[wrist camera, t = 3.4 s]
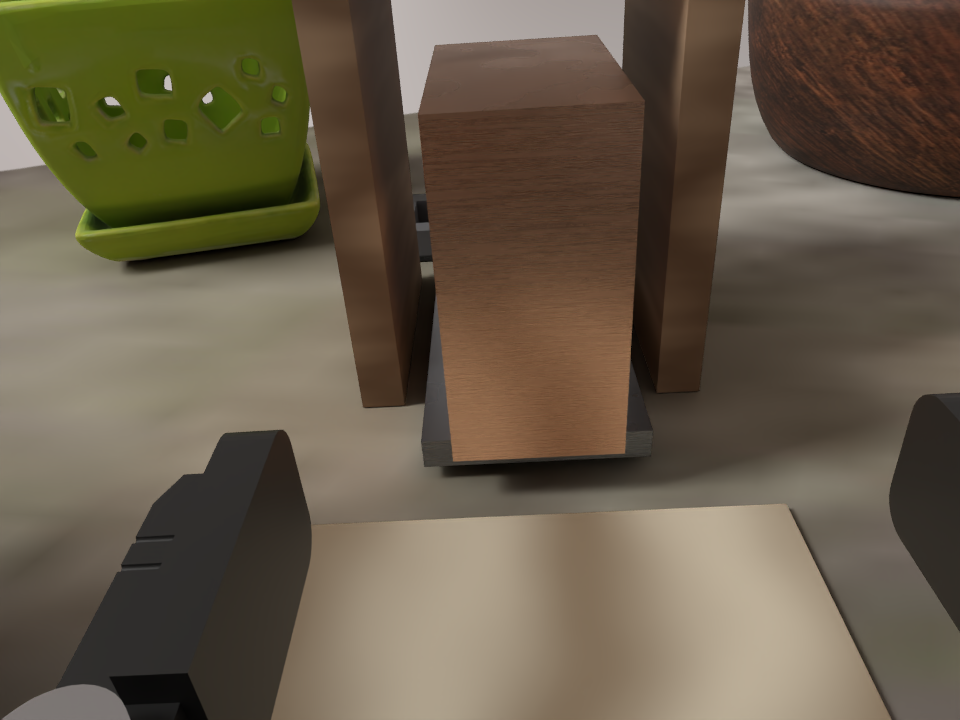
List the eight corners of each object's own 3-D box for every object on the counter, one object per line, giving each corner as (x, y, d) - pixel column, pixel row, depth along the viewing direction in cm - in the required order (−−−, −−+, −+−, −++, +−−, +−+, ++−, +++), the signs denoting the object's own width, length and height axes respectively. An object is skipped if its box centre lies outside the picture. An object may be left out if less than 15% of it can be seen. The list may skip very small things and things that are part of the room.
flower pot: (349, 250, 39) (304, -24, 32) (60, 296, 37) (-55, 9, 30) (326, 167, 51) (289, -48, 44) (106, 198, 48) (29, -25, 41)
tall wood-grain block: (422, 488, 23) (373, 117, 17) (442, 268, 35) (417, 11, 29) (657, 478, 23) (691, 98, 17) (593, 260, 35) (599, 0, 29)
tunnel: (363, 407, 27) (274, -93, 19) (390, 281, 36) (337, -105, 27) (699, 390, 27) (760, -127, 19) (646, 267, 35) (672, -128, 27)
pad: (159, 1073, 12) (156, 1069, 12) (303, 529, 22) (302, 525, 22) (1047, 1053, 12) (1051, 1049, 12) (785, 508, 22) (786, 503, 22)
